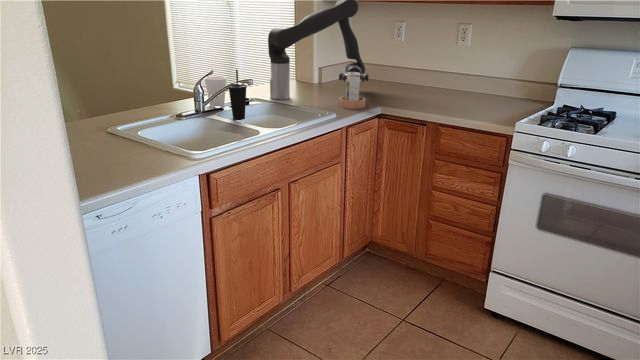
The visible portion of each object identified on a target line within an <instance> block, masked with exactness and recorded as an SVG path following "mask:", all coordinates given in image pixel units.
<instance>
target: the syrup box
mask: <svg viewBox="0 0 640 360" xmlns="http://www.w3.org/2000/svg"><path fill="white" fill-rule="evenodd" d="M360 82H361V81H360V73H358V72H348V74H347V81H346V89H345V90H346V93H345V96H346V100H348V101H359V97H360V86H361V85H360V84H361V83H360Z"/></svg>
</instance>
